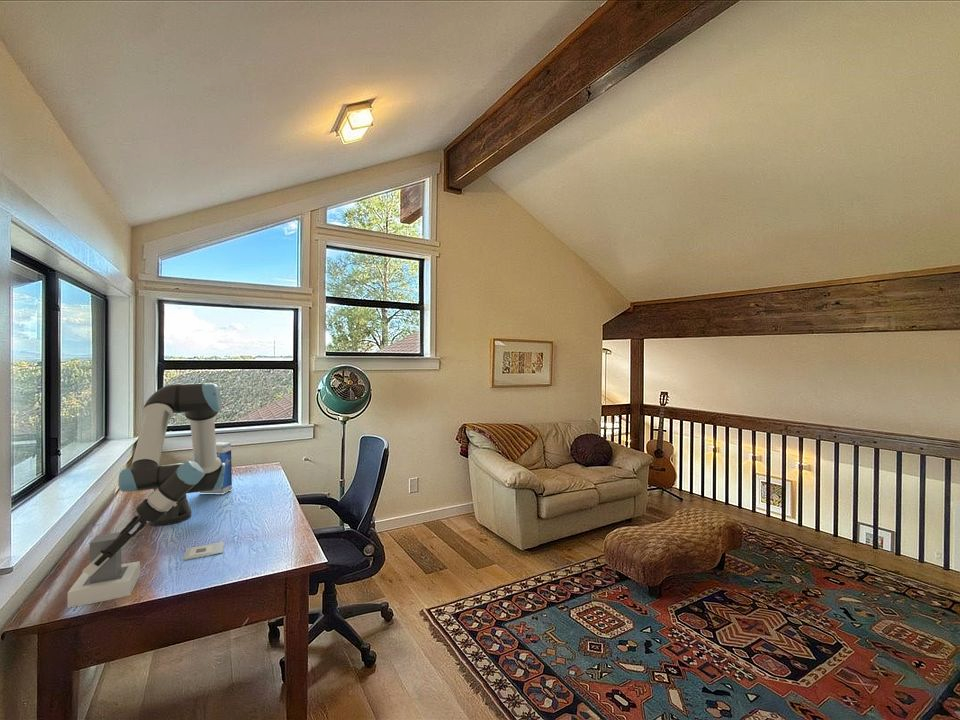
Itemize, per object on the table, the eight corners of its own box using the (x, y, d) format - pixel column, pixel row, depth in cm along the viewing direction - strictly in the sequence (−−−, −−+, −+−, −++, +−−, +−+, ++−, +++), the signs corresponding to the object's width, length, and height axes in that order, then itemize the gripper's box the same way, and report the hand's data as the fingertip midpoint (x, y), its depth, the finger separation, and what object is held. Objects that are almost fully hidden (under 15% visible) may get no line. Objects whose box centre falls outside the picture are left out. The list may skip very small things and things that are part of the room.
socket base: (84, 585, 136) (84, 570, 136) (140, 574, 143) (140, 561, 143) (67, 608, 124) (67, 592, 124) (129, 595, 130) (129, 580, 130)
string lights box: (232, 490, 230) (232, 442, 230) (222, 495, 223) (222, 445, 222) (209, 490, 232) (208, 441, 231) (198, 494, 224) (198, 444, 224)
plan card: (186, 549, 161) (186, 547, 161) (224, 542, 167) (224, 541, 167) (182, 560, 152) (182, 558, 152) (222, 553, 158) (222, 551, 158)
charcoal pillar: (96, 574, 134) (96, 535, 134) (121, 570, 137) (120, 532, 137) (90, 583, 129) (89, 543, 129) (116, 578, 132) (115, 539, 132)
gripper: (161, 522, 132) (92, 589, 124) (171, 503, 149) (110, 561, 141) (139, 507, 129) (66, 575, 122) (152, 489, 146) (89, 549, 139)
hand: (90, 568), depth 131 cm, fingers closed on charcoal pillar, 6 cm apart
